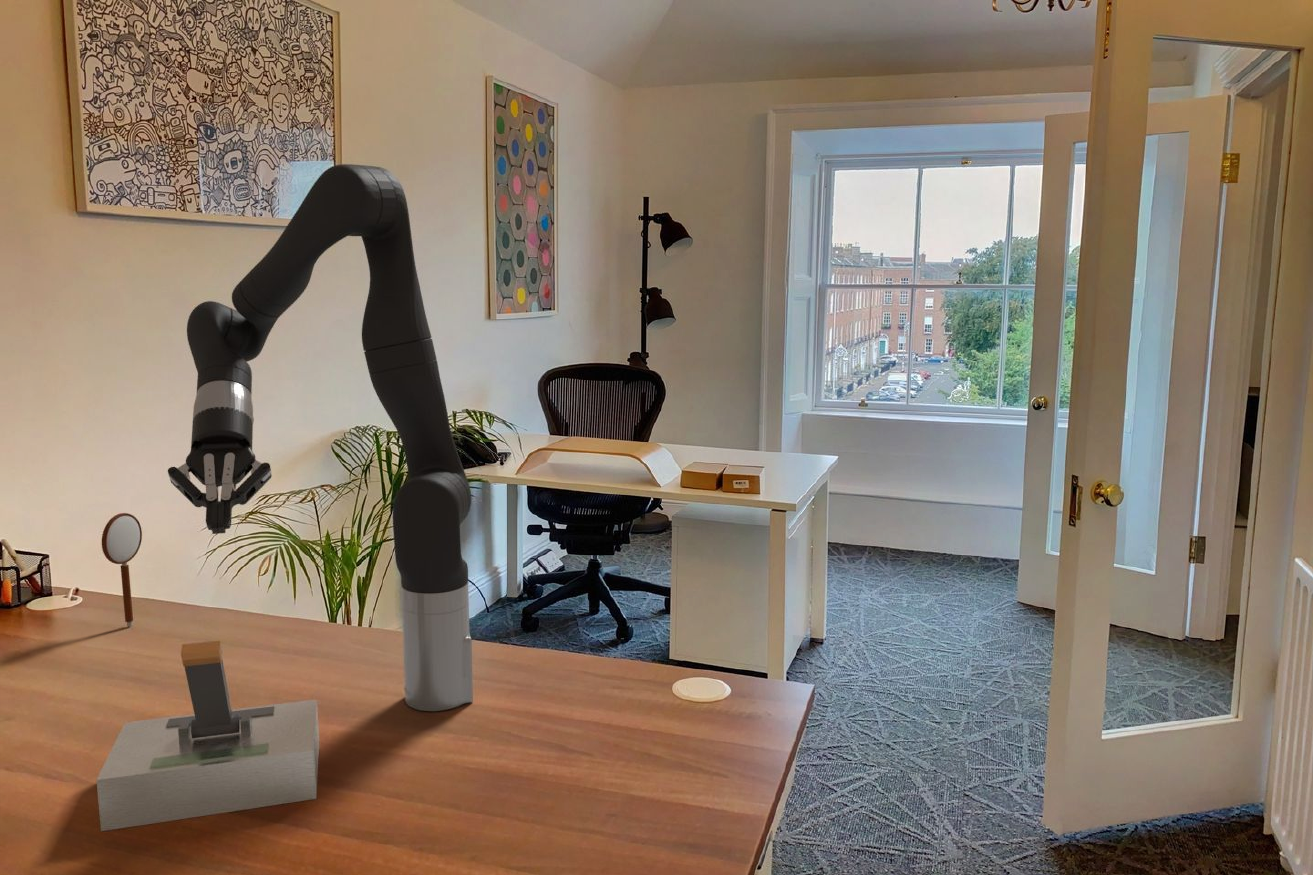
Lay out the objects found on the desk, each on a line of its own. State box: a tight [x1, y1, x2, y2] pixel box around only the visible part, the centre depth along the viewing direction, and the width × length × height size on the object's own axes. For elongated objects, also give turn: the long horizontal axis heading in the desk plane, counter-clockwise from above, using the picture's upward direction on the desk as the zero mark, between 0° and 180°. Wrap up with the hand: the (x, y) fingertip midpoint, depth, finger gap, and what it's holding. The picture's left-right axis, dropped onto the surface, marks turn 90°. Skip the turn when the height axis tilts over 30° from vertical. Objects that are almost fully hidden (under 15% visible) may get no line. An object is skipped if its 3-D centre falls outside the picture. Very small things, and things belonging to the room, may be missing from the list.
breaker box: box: [95, 699, 320, 832], centre depth 111 cm, size 22×14×8 cm, turn 108°
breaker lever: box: [180, 640, 240, 739], centre depth 107 cm, size 5×2×15 cm, turn 108°
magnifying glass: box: [101, 512, 143, 627], centre depth 160 cm, size 9×2×20 cm, turn 170°
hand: (218, 530), depth 119 cm, fingers closed
